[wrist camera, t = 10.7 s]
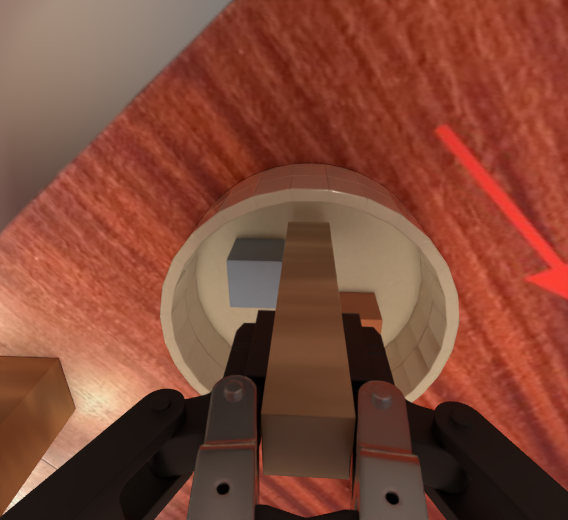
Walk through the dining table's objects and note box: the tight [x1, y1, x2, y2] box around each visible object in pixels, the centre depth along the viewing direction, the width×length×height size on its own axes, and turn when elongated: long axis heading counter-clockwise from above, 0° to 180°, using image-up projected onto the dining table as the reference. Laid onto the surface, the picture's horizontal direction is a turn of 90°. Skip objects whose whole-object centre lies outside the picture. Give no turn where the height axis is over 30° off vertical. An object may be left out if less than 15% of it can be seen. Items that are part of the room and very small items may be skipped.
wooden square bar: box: [261, 222, 356, 479], centre depth 16 cm, size 2×2×14 cm
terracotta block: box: [339, 292, 383, 335], centre depth 27 cm, size 3×3×3 cm
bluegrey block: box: [226, 239, 285, 309], centre depth 25 cm, size 3×3×3 cm
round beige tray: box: [160, 163, 459, 403], centre depth 25 cm, size 17×17×6 cm
